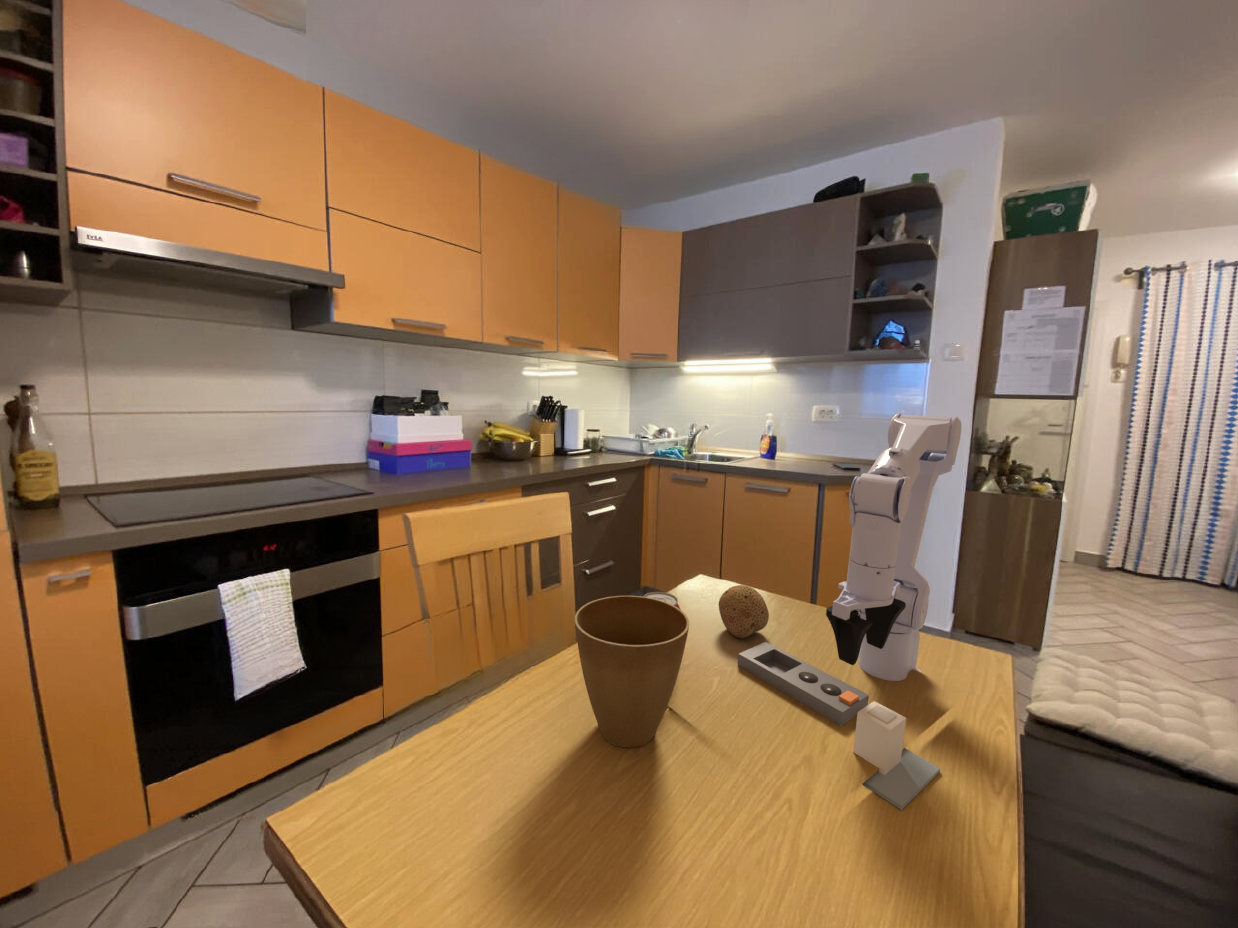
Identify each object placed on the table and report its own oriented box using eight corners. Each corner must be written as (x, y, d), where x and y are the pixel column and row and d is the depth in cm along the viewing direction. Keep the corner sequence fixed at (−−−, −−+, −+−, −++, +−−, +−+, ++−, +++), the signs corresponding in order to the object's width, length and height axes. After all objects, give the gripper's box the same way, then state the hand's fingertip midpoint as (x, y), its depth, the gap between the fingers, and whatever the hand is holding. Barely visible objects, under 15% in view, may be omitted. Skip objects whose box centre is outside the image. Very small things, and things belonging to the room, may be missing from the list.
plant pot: (706, 745, 66) (713, 629, 63) (604, 786, 58) (608, 657, 56) (645, 684, 78) (649, 586, 76) (555, 712, 71) (557, 605, 69)
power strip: (764, 657, 87) (765, 639, 87) (866, 713, 73) (869, 691, 72) (737, 670, 83) (738, 650, 82) (840, 732, 69) (842, 708, 68)
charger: (869, 742, 66) (874, 699, 65) (900, 761, 63) (906, 716, 62) (852, 755, 64) (857, 710, 63) (884, 775, 61) (890, 728, 60)
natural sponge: (751, 623, 100) (755, 575, 98) (776, 646, 91) (781, 594, 90) (709, 628, 97) (712, 579, 96) (731, 652, 89) (735, 598, 87)
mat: (860, 726, 70) (861, 723, 70) (939, 771, 62) (940, 767, 62) (819, 756, 64) (820, 752, 64) (901, 810, 56) (902, 806, 56)
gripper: (870, 544, 77) (860, 628, 79) (815, 562, 68) (806, 655, 70) (919, 558, 71) (907, 647, 73) (866, 579, 63) (855, 680, 65)
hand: (861, 653), depth 71 cm, fingers open, 7 cm apart
